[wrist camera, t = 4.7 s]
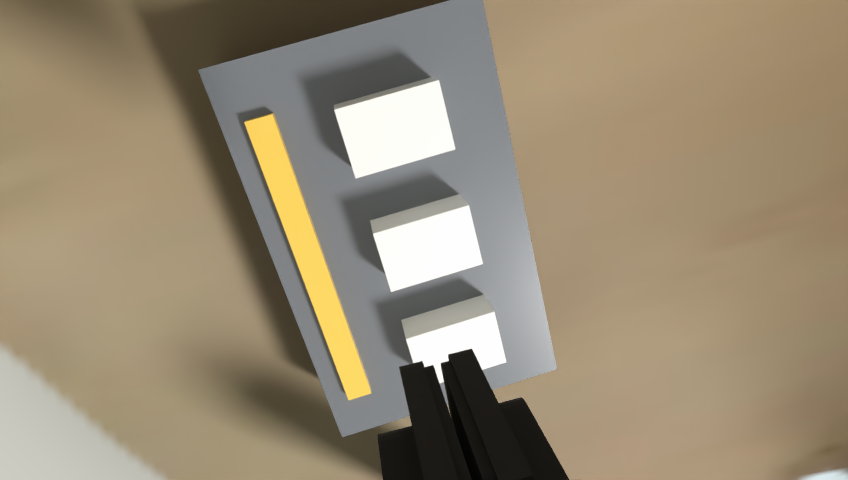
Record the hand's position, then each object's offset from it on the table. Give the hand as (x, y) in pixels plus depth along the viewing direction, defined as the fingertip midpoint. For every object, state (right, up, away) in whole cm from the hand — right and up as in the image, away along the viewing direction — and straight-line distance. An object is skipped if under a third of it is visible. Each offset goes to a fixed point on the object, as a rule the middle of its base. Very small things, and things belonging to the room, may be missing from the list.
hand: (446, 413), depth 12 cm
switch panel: (-2, +5, +13) cm, 14 cm away
